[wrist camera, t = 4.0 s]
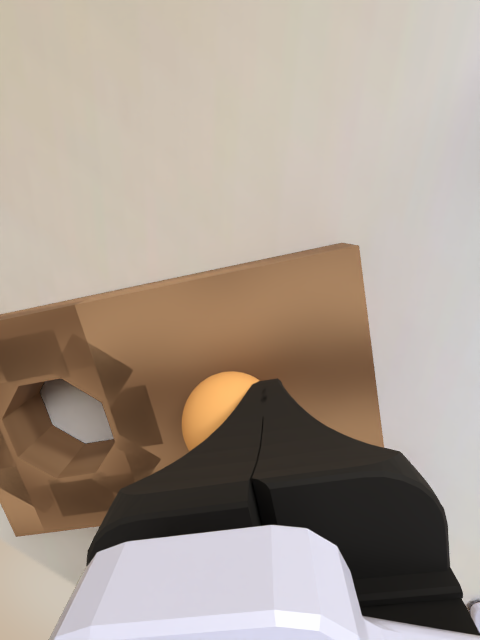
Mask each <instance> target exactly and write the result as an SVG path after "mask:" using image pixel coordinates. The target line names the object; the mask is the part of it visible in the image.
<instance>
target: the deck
mask: <svg viewBox="0 0 480 640" xmlns="http://www.w3.org/2000/svg"><path fill="white" fill-rule="evenodd" d="M229 371H235V372H242V373H245V374H248V375H251V376H253V377H255V378H257V379H258V380H260V381H264V380H270V379H276V378H278V379H279V380H280V381H281V382H282V385H283V386H284V388H285V389H286V390H287V392H288V393H289V394H290V395H291V397H292V398H293V399H294V400H295V401H296V402H297V403H298V404H299V405H300V406H301V407H302V408H303V409H304V410H306V411H307V412H308V413H309V414H310V415H311V416H313V417H314V418H315V419H317V420H318V421H320V422H321V423H323V424H324V425H326V426H328V427H329V428H331V429H333V430H335V431H337V432H339V433H341V434H344V435H346V436H348V437H351V438H353V439H356V440H359V441H362V442H365V443H368V444H371V445H375V446H379V447H383V448H384V444H383V436H382V428H381V420H380V412H379V404H378V396H377V387H376V379H375V371H374V363H373V355H372V347H371V339H370V331H369V323H368V315H367V307H366V299H365V291H364V283H363V275H362V267H361V259H360V251H359V246H358V245H352V244H346V243H339V244H334V245H329V246H325V247H320V248H315V249H310V250H306V251H301V252H296V253H291V254H287V255H282V256H277V257H272V258H267V259H263V260H258V261H253V262H248V263H244V264H239V265H234V266H229V267H225V268H220V269H215V270H210V271H206V272H201V273H196V274H191V275H187V276H182V277H177V278H172V279H167V280H163V281H158V282H153V283H148V284H144V285H139V286H134V287H129V288H125V289H120V290H115V291H110V292H106V293H101V294H96V295H91V296H86V297H82V298H77V299H72V300H67V301H63V302H58V303H53V304H48V305H44V306H39V307H34V308H29V309H25V310H20V311H15V312H10V313H5V314H1V315H0V503H1V505H2V507H3V509H4V512H5V514H6V516H7V518H8V520H9V522H10V525H11V527H12V529H13V531H14V533H15V535H16V537H18V536H25V535H33V534H41V533H49V532H57V531H64V530H72V529H80V528H88V527H96V526H100V525H101V523H102V521H103V519H104V517H105V516H106V514H107V512H108V510H109V508H110V506H111V504H112V502H113V501H114V499H115V497H116V495H117V494H118V492H119V490H120V489H121V488H124V487H126V486H128V485H130V484H132V483H135V482H137V481H139V480H141V479H143V478H145V477H147V476H149V475H152V474H154V473H155V472H157V471H159V470H161V469H163V468H164V467H166V466H168V465H170V464H171V463H173V462H175V461H176V460H178V459H179V458H181V457H183V456H184V455H185V454H187V453H188V452H190V451H189V450H188V448H187V446H186V443H185V441H184V438H183V433H182V414H183V410H184V406H185V404H186V401H187V399H188V397H189V396H190V394H191V392H192V391H193V390H194V389H195V388H196V386H198V385H199V384H200V383H201V382H202V381H204V380H205V379H207V378H208V377H210V376H212V375H215V374H218V373H221V372H229ZM60 378H61V379H63V380H65V381H66V382H68V383H70V384H71V385H73V386H75V387H76V388H78V389H80V390H81V391H83V392H85V393H87V394H88V395H90V396H92V397H93V398H95V399H97V400H98V401H100V402H102V405H103V408H104V411H105V414H106V416H107V419H108V422H109V425H110V428H111V431H112V434H113V437H114V439H112V440H106V441H100V442H93V443H87V444H84V443H83V442H81V441H79V440H77V439H76V438H74V437H72V436H70V435H69V434H67V433H65V432H63V431H62V430H60V429H58V428H56V427H55V426H53V425H52V423H51V420H50V418H49V415H48V413H47V410H46V408H45V405H44V402H43V400H42V397H41V395H40V390H41V388H42V386H43V384H44V382H45V381H49V380H54V379H60Z"/></svg>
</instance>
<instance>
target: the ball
mask: <svg viewBox="0 0 480 640" xmlns="http://www.w3.org/2000/svg"><path fill="white" fill-rule="evenodd" d="M258 381H260V380H258V379H257V378H255V377H253V376H251V375H248V374H245V373H242V372H235V371H229V372H221V373H218V374H215V375H212V376H210V377H208V378H207V379H205V380H204V381H202V382H201V383H200V384H199V385H198V386H196V388H195V389H194V390H193V391H192V392H191V394H190V396H189V397H188V399H187V401H186V404H185V406H184V410H183V414H182V433H183V438H184V441H185V443H186V446H187V448H188V450H189V451H191V450H192V449H194V448H195V447H196V446H198V445H199V444H200V443H202V442H203V441H204V440H205V439H207V438H208V437H209V436H210V435H211V434H212V433H213V432H214V431H215V430H216V429H217V428H218V427H219V426H220V425H221V424H222V423H223V422H224V421H225V420H226V419H227V418H228V417H229V415H230V414H231V413H232V412H233V411H234V409H235V408H236V407H237V405H238V404H239V403H240V401H241V400H242V398H243V397H244V395H245V394H246V392H247V391H248V390H249V388H250V387H251V385H252V384H254V383H256V382H258Z"/></svg>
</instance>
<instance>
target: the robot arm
mask: <svg viewBox="0 0 480 640" xmlns="http://www.w3.org/2000/svg"><path fill="white" fill-rule="evenodd" d="M461 598H463V592H462V589H461V586H460V584H459V582H458V580H457V579H456V577H455V575H454V573H453V571H452V570H451V568H450V559H449V541H448V524H447V520H446V516H445V511H444V508H443V507H442V505H441V504H440V502H439V500H438V498H437V496H436V495H435V493H434V492H433V490H432V489H431V487H430V486H429V484H428V483H427V482H426V480H425V479H424V478H423V477H422V476H421V474H420V473H419V472H418V471H417V470H416V469H415V468H414V466H413V465H412V464H411V463H410V462H409V461H408V460H407V458H406V457H405V456H404V455H403V454H402V453H401V452H400V451H396V450H391V449H387V448H383V447H379V446H375V445H371V444H368V443H365V442H362V441H359V440H356V439H353V438H351V437H348V436H346V435H344V434H341V433H339V432H337V431H335V430H333V429H331V428H329V427H328V426H326V425H324V424H323V423H321V422H320V421H318V420H317V419H315V418H314V417H313V416H311V415H310V414H309V413H308V412H307V411H306V410H304V409H303V408H302V407H301V406H300V405H299V404H298V403H297V402H296V401H295V400H294V399H293V398H292V397H291V395H290V394H289V393H288V392H287V390H286V389H285V388H284V386H283V385H282V382H281V381H280V380H279V379H278V378H276V379H270V380H264V381H258V382H256V383H254V384H252V385H251V387H250V388H249V390H248V391H247V392H246V394H245V395H244V397H243V398H242V400H241V401H240V403H239V404H238V405H237V407H236V408H235V409H234V411H233V412H232V413H231V414H230V415H229V417H228V418H227V419H226V420H225V421H224V422H223V423H222V424H221V425H220V426H219V427H218V428H217V429H216V430H215V431H214V432H213V433H212V434H211V435H210V436H209V437H208V438H207V439H205V440H204V441H203V442H202V443H200V444H199V445H198V446H196V447H195V448H194V449H192V450H191V451H190V452H188V453H187V454H185V455H184V456H183V457H181V458H179V459H178V460H176V461H175V462H173V463H171V464H170V465H168V466H166V467H164V468H163V469H161V470H159V471H157V472H155V473H154V474H152V475H149V476H147V477H145V478H143V479H141V480H139V481H137V482H135V483H132V484H130V485H128V486H126V487H124V488H121V489H120V490H119V492H118V494H117V495H116V497H115V499H114V501H113V502H112V504H111V506H110V508H109V510H108V512H107V514H106V516H105V517H104V519H103V521H102V523H101V525H100V527H99V529H98V531H97V533H96V535H95V537H94V539H93V541H92V543H91V545H90V547H89V549H88V554H87V567H86V569H85V570H84V572H83V573H82V575H81V577H80V579H79V581H78V583H77V585H76V587H75V589H74V591H73V593H72V595H71V597H70V599H69V601H68V603H67V605H66V607H65V609H64V611H63V613H62V614H61V616H60V618H59V621H58V623H57V624H56V626H55V629H54V631H53V632H52V634H51V636H50V638H49V640H480V602H477V603H475V604H473V605H472V606H471V610H470V612H471V616H470V614H469V612H468V610H467V608H466V606H465V604H464V603H463V601H462V599H461Z"/></svg>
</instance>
